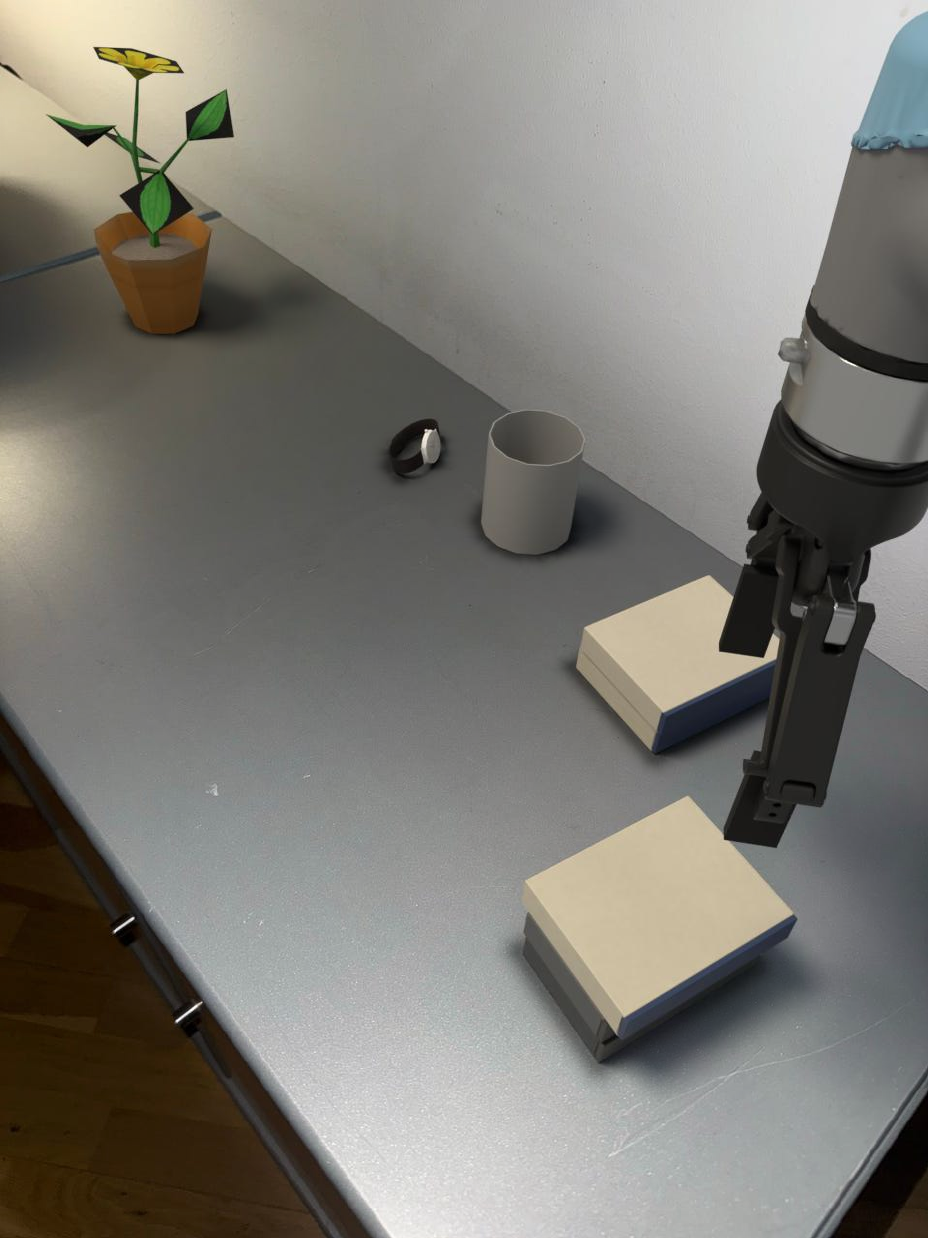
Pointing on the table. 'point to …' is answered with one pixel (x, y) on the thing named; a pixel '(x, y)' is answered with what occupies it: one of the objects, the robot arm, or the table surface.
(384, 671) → the table surface
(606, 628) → the cream stack
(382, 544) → the table surface
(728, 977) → the grey stack
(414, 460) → the watch
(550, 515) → the cup
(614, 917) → the cream book
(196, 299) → the potted plant
